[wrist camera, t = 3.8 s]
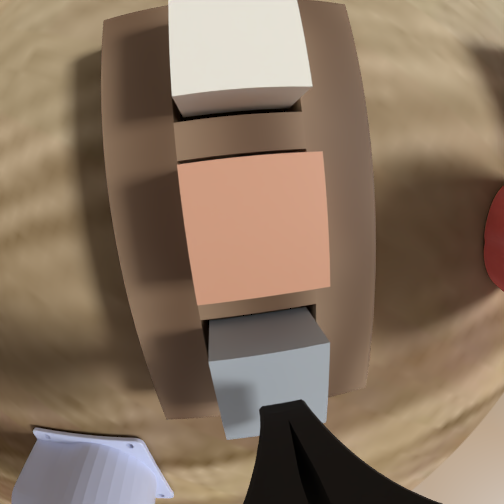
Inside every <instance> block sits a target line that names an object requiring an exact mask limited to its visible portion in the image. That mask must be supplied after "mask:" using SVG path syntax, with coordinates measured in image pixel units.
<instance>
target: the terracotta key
mask: <svg viewBox="0 0 504 504" xmlns="http://www.w3.org/2000/svg"><path fill="white" fill-rule="evenodd" d="M177 169H178V178H179V187H180V195H181V203H182V211H183V218H184V225H185V233H186V239H187V246H188V253H189V259H190V265H191V272H192V278H193V284H194V289H195V295H196V301H197V305H206V304H214V303H222V302H230V301H238V300H245V299H253V298H260V297H267V296H274V295H281V294H287V293H294V292H300V291H307V290H313V289H319V288H325V287H330V253H329V230H328V212H327V196H326V183H325V171H324V160H323V151H318V152H297V153H281V154H267V155H255V156H244V157H234V158H225V159H216V160H208V161H200V162H193V163H186V164H179V165H177Z"/></svg>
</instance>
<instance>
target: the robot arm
mask: <svg viewBox="0 0 504 504" xmlns="http://www.w3.org/2000/svg"><path fill="white" fill-rule="evenodd" d="M259 414H260V435H259V444H258V450H257V456H256V461H255V466H254V470H253V474H252V478H251V481H250V485H249V488H248V491H247V495H246V498H245V500H244V503H243V504H442V503H438V502H436V501H433V500H431V499H428V498H426V497H424V496H421V495H419V494H417V493H415V492H412V491H410V490H408V489H406V488H404V487H402V486H400V485H399V484H397V483H395V482H393V481H392V480H390V479H388V478H387V477H385V476H384V475H382V474H381V473H379V472H377V471H376V470H375V469H373V468H372V467H370V466H369V465H368V464H366V463H365V462H364V461H362V460H361V459H360V458H359V457H357V456H356V455H355V454H354V453H353V452H351V451H350V450H349V449H348V448H347V447H346V446H345V445H344V444H343V443H341V442H340V441H339V440H338V439H337V438H336V437H335V436H334V435H333V434H332V433H331V432H330V431H329V430H328V429H327V428H326V427H325V426H324V424H323V423H322V422H321V421H320V420H319V419H318V418H317V416H316V415H315V414H314V413H313V412H312V410H311V409H310V408H309V407H308V405H307V404H306V402H305V401H303V400H302V399H300V400H295V401H290V402H284V403H278V404H273V405H266V406H262V407H261V408H260V409H259ZM33 433H34V435H35V436H36V438H37V441H36V443H35V445H34V447H33V449H32V451H31V453H30V455H29V457H28V459H27V461H26V463H25V465H24V467H23V469H22V471H21V473H20V475H19V477H18V479H17V481H16V484H15V486H14V489H13V492H12V504H155V498H172V497H174V492H173V491H172V489H171V488H170V486H169V485H168V483H167V481H166V480H165V478H164V476H163V475H162V473H161V471H160V470H159V468H158V466H157V464H156V463H155V461H154V459H153V457H152V455H151V454H150V452H149V450H148V448H147V446H146V444H145V443H144V441H143V440H141V439H139V438H124V437H107V436H94V435H84V434H75V433H68V432H61V431H54V430H48V429H42V428H34V430H33Z"/></svg>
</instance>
